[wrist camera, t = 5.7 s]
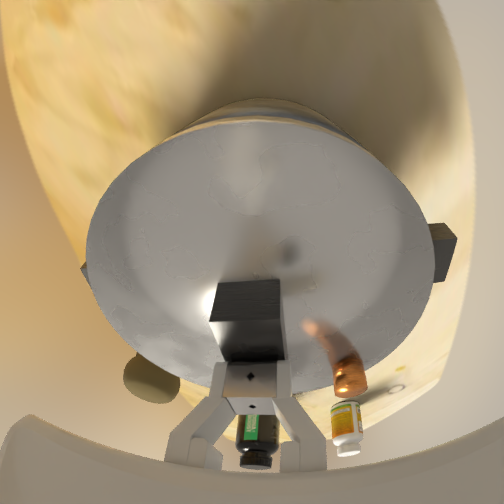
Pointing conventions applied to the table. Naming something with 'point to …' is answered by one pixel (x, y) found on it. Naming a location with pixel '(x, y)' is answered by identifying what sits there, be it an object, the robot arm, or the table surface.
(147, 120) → the table surface
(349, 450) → the supplement bottle
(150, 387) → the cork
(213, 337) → the cooker lid
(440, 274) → the cooker pot
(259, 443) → the supplement bottle
